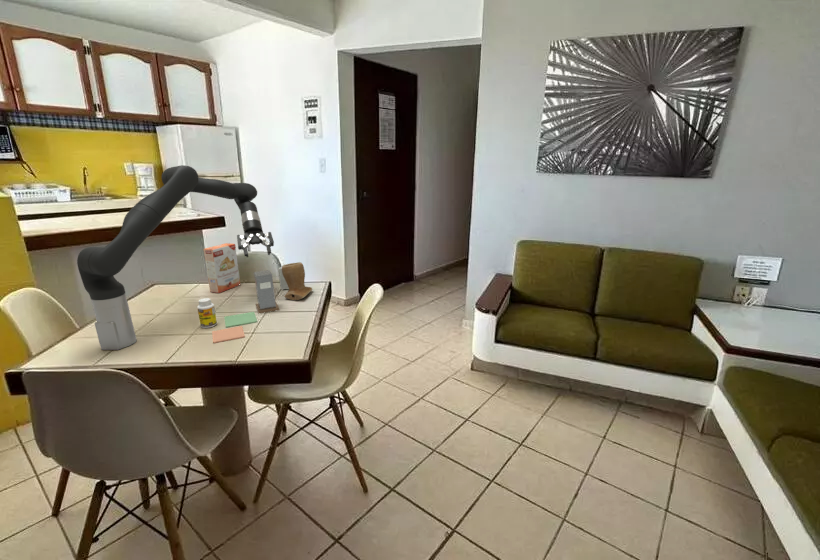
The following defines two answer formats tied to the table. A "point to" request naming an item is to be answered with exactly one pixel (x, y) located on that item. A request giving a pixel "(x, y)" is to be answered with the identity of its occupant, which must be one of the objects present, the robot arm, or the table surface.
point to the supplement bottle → (206, 313)
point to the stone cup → (295, 281)
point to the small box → (282, 280)
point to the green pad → (240, 319)
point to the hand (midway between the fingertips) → (258, 255)
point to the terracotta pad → (228, 334)
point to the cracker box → (222, 267)
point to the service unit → (265, 292)
